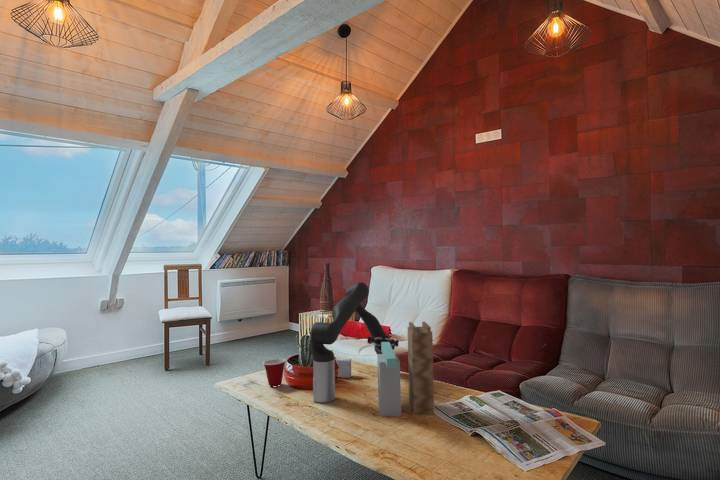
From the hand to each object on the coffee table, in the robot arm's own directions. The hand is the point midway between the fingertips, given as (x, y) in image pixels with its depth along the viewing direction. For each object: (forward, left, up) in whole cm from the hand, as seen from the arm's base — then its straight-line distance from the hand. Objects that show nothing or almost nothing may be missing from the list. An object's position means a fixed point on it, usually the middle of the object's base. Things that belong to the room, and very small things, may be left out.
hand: (382, 340), depth 187 cm
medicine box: (-18, +27, -24) cm, 40 cm away
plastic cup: (-51, +17, -24) cm, 59 cm away
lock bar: (+1, -18, -3) cm, 18 cm away
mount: (+14, -17, -24) cm, 33 cm away
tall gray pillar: (+1, -17, -24) cm, 30 cm away
